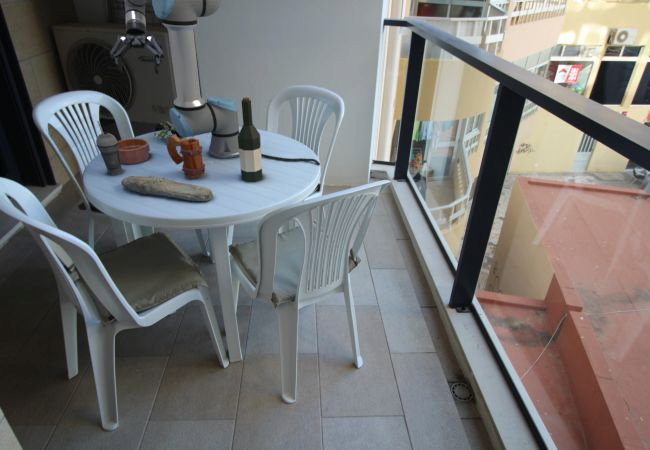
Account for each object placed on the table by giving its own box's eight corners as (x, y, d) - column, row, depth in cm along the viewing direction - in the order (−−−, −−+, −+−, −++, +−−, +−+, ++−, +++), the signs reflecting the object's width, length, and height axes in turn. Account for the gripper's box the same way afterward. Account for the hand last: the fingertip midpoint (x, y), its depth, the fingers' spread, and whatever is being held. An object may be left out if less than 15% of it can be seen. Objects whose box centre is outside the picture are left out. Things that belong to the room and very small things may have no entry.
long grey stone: (204, 210, 131) (219, 198, 140) (203, 196, 129) (218, 184, 137) (114, 190, 137) (133, 179, 146) (111, 176, 135) (131, 166, 143)
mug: (211, 173, 153) (206, 136, 145) (199, 182, 146) (193, 143, 138) (180, 167, 157) (173, 131, 148) (166, 175, 150) (158, 138, 142)
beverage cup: (117, 177, 148) (103, 125, 137) (100, 175, 149) (84, 123, 138) (129, 169, 154) (116, 119, 143) (113, 167, 155) (98, 117, 144)
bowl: (158, 157, 165) (155, 143, 162) (126, 167, 155) (122, 153, 152) (139, 149, 172) (136, 136, 169) (108, 158, 162) (104, 144, 159)
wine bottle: (245, 183, 146) (237, 102, 130) (238, 175, 152) (230, 96, 136) (266, 179, 149) (261, 100, 133) (258, 171, 156) (253, 94, 140)
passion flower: (180, 149, 187) (192, 130, 182) (166, 153, 177) (178, 133, 172) (162, 133, 186) (173, 114, 181) (147, 137, 176) (159, 116, 171)
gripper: (169, 33, 168) (173, 77, 163) (106, 32, 162) (108, 78, 158) (166, 20, 161) (169, 66, 156) (99, 19, 155) (101, 67, 151)
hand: (138, 72), depth 157 cm, fingers open, 13 cm apart
